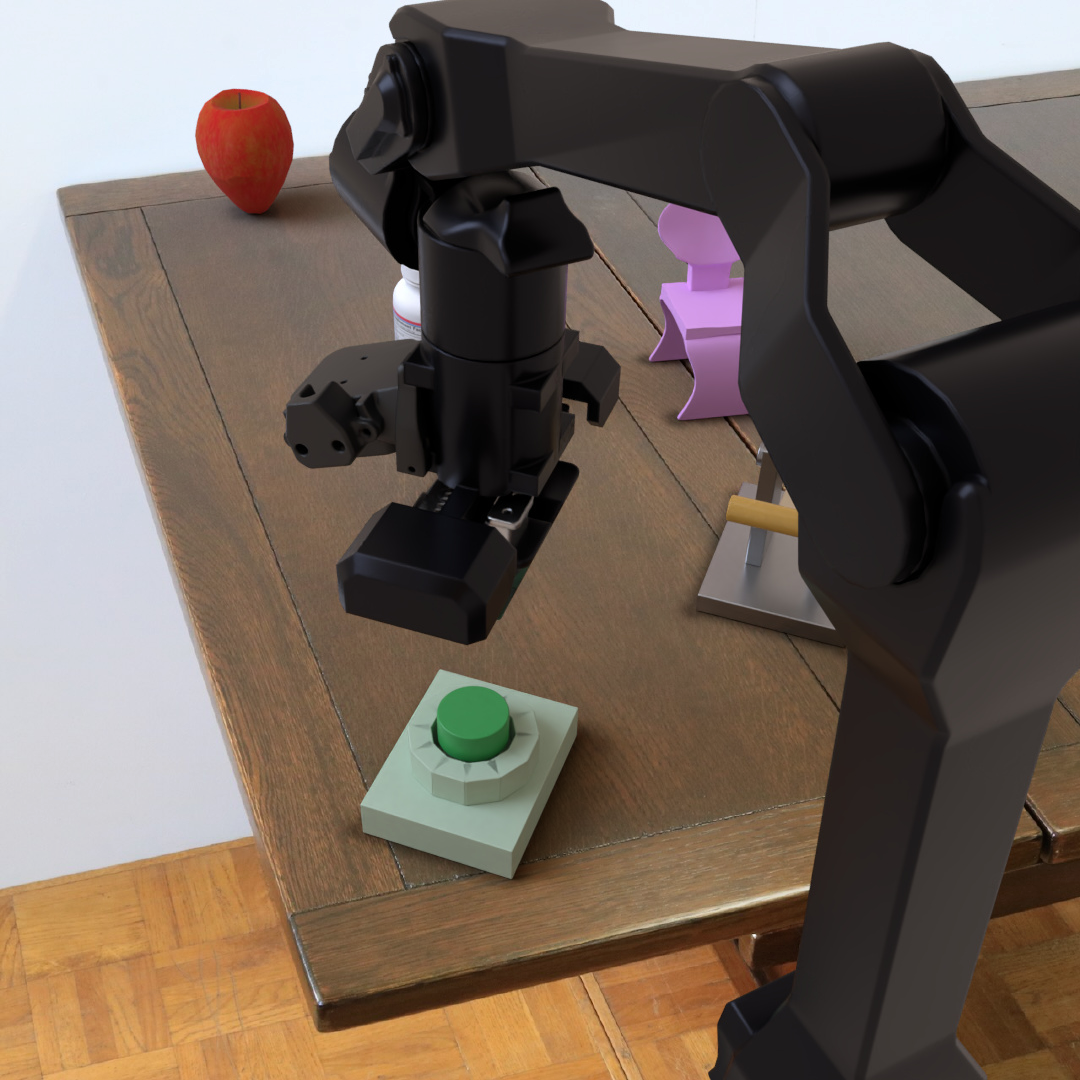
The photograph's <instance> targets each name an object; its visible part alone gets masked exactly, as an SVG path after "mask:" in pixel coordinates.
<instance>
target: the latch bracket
mask: <svg viewBox="0 0 1080 1080" xmlns="http://www.w3.org/2000/svg"><path fill="white" fill-rule="evenodd" d="M755 465H756V466H758V467H759V468H760V469H759V474H758V480H757V484H755V483H751V482H747V481H742V483H741V485H740V488H739V490H738V492H737V494H736V495H737V496H742V497H746V498H750V499H755V500H759V501H763V502H768V503H772V504H776V505H779V503H780V501H781V498H782V496H783V494H784V492H785V490H783V482H782V480H781V478H780V476H779V474H778V472H777V470H776V468H775V466H774V464H773V462H772V460H771V458H770V456H769V454H768V452H767V450H766V448H765V446H764V444H763V442H760V444H759V446H758V451H757V455H756V459H755ZM700 585H701V586H700V588H699V591H698V593H697V595H696V596H697V597H696V604H695V610H696V611H698V612H702V613H705V614H710V615H714V616H717V617H721V618H726V619H730V620H734V621H737V622H741V623H745V624H749V625H753V626H758V627H761V628H766V629H769V630H773V631H776V632H781V633H784V634H789V635H793V636H796V637H801V638H804V639H808V640H812V641H815V642H820V643H824V644H827V645H832V646H835V647H840V648H846V645H845V644H844V642H843V640H842V639H841V637H840V636H839V634H838V633H837V631H836V630H835V628H834V627H833V625H832V624H831V622H830V620H829V619H828V617H827V616H826V614H825V613H824V611H823V610H822V608H821V607H820V605H819V604H818V602H817V600H816V599H815V597H814V596H813V594H812V593H811V591H810V590H809V588H808V587H807V585H806V584H805V582H804V581H803V579H802V577H801V575H800V573H799V569H798V537H793V536H789V535H785V534H781V533H776V532H772V531H768V530H764V529H760V528H755V527H751V526H747V525H743V524H738V523H734V522H730V521H727V520H726V523H725V525H724V528H723V530H722V532H721V535H720V538H719V540H718V543H717V544H716V548H715V551H714V553H713V555H712V558H711V560H710V562H709V565H708V567H707V570H706V573H705V575H704V577H703V581H702V583H701V584H700Z"/></svg>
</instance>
